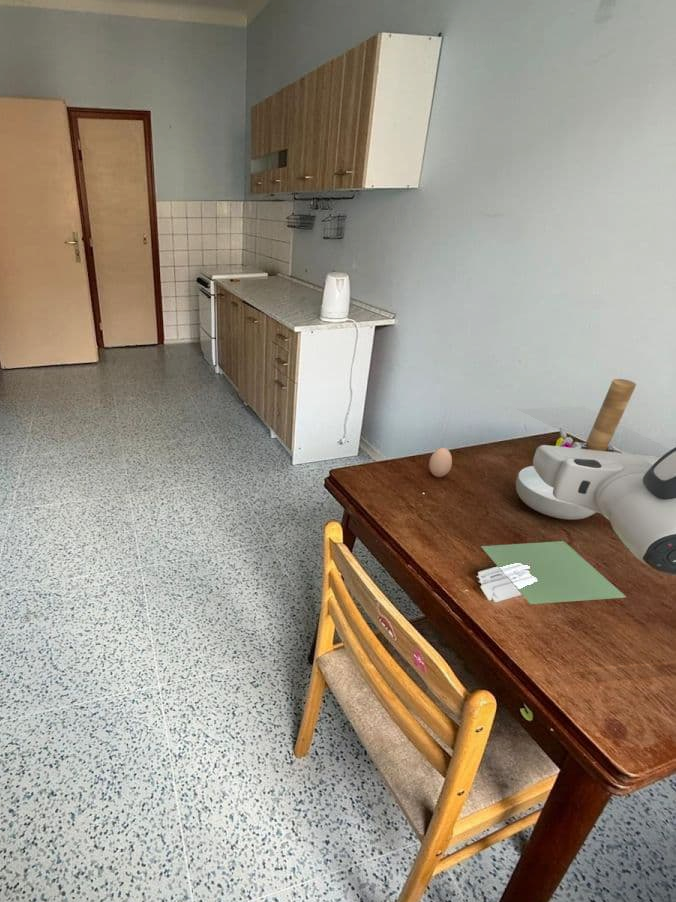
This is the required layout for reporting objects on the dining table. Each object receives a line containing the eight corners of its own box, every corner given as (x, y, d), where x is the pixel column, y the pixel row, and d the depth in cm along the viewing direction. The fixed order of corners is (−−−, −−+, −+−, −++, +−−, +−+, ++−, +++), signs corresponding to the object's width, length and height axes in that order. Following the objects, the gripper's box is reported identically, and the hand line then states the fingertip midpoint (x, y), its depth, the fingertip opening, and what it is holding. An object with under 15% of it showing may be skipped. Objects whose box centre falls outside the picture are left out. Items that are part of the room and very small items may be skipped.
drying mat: (562, 543, 98) (563, 540, 98) (625, 599, 84) (626, 597, 84) (479, 548, 97) (480, 546, 97) (529, 606, 83) (530, 603, 83)
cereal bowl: (548, 535, 101) (559, 508, 97) (494, 494, 115) (501, 469, 112) (614, 524, 104) (627, 498, 100) (553, 486, 118) (562, 461, 115)
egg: (435, 469, 126) (441, 441, 122) (452, 477, 122) (459, 449, 118) (422, 474, 124) (428, 446, 120) (439, 483, 120) (446, 454, 116)
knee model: (562, 460, 139) (571, 490, 119) (536, 444, 141) (541, 471, 121) (587, 436, 134) (601, 463, 114) (560, 420, 136) (569, 444, 116)
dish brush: (580, 476, 87) (624, 373, 76) (607, 494, 82) (659, 388, 71) (550, 479, 86) (591, 377, 76) (576, 498, 81) (623, 391, 71)
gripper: (724, 480, 65) (672, 437, 77) (555, 461, 70) (531, 424, 82) (702, 517, 68) (655, 471, 80) (543, 496, 73) (521, 456, 85)
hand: (591, 447), depth 81 cm, fingers closed on dish brush, 3 cm apart
